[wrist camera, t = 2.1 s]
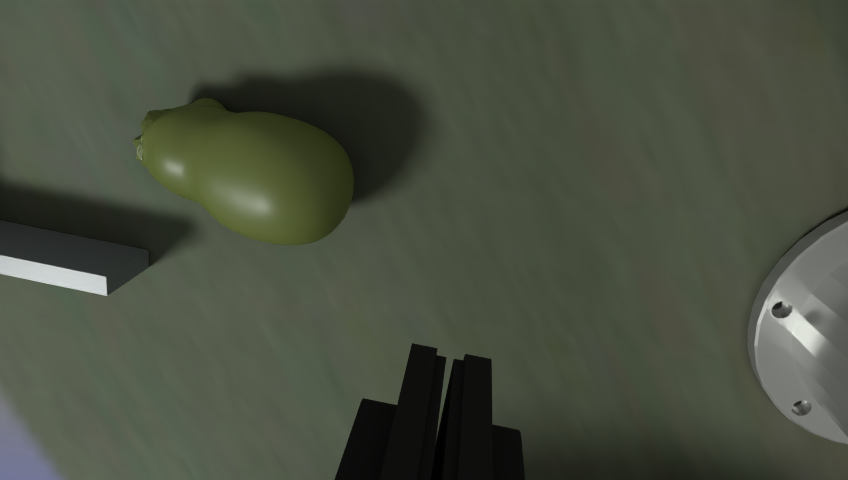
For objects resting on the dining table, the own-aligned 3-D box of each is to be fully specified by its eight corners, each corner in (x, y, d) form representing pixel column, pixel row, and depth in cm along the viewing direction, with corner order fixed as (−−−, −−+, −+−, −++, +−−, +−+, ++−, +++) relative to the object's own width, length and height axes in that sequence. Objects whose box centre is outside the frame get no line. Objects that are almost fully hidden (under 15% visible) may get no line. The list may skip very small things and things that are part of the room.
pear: (307, 281, 23) (104, 205, 25) (357, 242, 28) (184, 180, 30) (332, 149, 21) (108, 77, 23) (382, 132, 26) (194, 73, 28)
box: (144, -69, 24) (90, -84, 21) (148, 267, 30) (106, 295, 27) (-110, -112, 25) (-200, -134, 22) (-58, 225, 31) (-124, 248, 28)
